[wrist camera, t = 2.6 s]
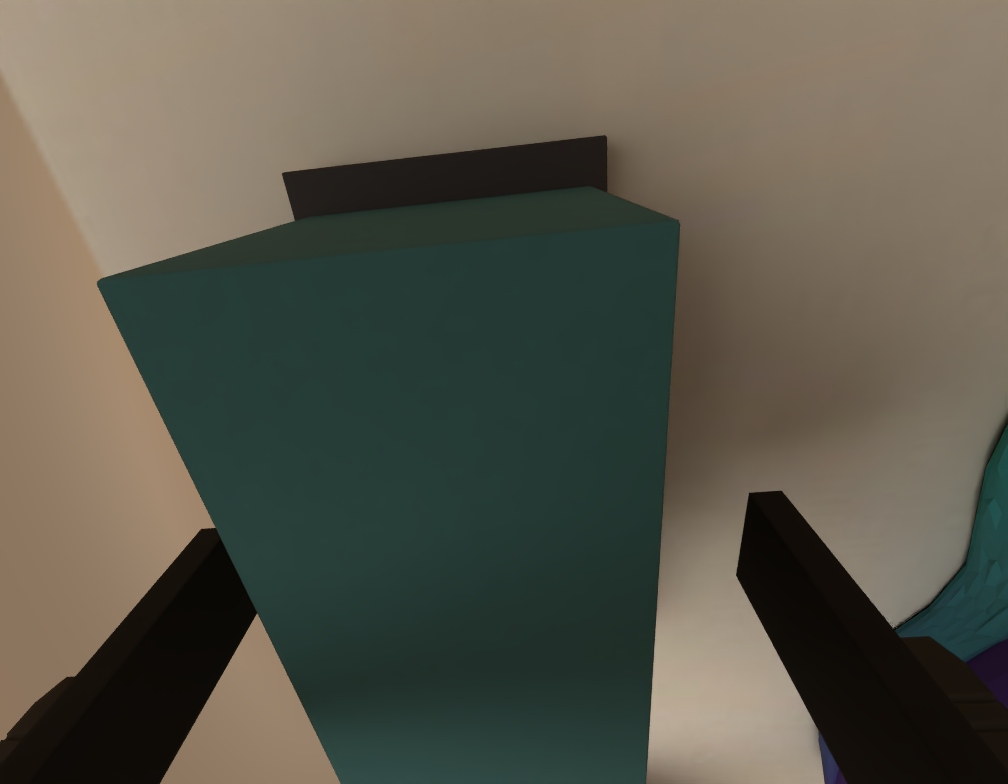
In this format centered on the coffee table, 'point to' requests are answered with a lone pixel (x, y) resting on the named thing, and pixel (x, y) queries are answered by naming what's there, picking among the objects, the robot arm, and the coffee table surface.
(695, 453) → the coffee table surface
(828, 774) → the sneaker
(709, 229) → the coffee table surface
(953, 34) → the coffee table surface
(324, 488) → the teal stepped block
